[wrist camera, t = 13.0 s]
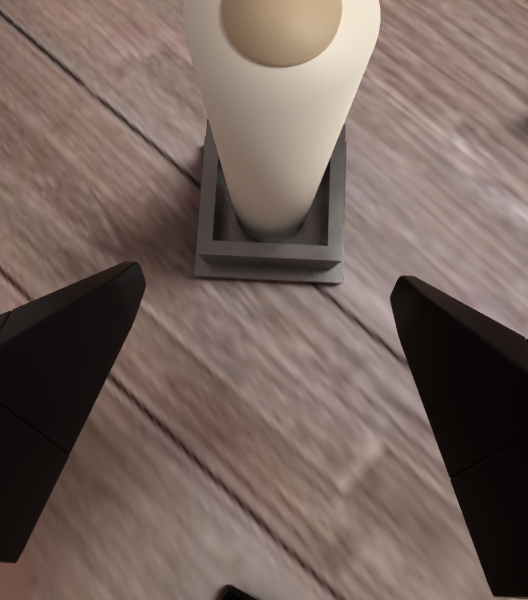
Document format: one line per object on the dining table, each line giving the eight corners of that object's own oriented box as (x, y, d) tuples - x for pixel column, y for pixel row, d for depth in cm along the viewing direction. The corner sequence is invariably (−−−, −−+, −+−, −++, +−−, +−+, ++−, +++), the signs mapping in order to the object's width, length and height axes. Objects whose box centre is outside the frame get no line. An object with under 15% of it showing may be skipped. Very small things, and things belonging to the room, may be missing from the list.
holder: (339, 284, 21) (356, 275, 17) (197, 277, 21) (181, 267, 17) (342, 150, 22) (359, 112, 18) (207, 144, 22) (194, 105, 18)
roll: (259, 256, 20) (248, 137, 7) (221, 196, 21) (144, -22, 7) (321, 219, 20) (422, 35, 7) (282, 160, 21) (312, -112, 8)
